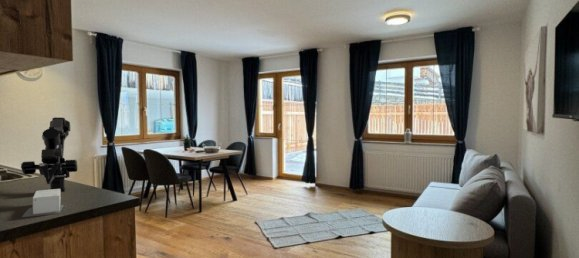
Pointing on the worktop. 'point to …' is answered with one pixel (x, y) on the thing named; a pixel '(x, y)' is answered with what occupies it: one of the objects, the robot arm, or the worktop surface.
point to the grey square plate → (30, 213)
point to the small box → (46, 201)
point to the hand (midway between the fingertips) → (48, 183)
